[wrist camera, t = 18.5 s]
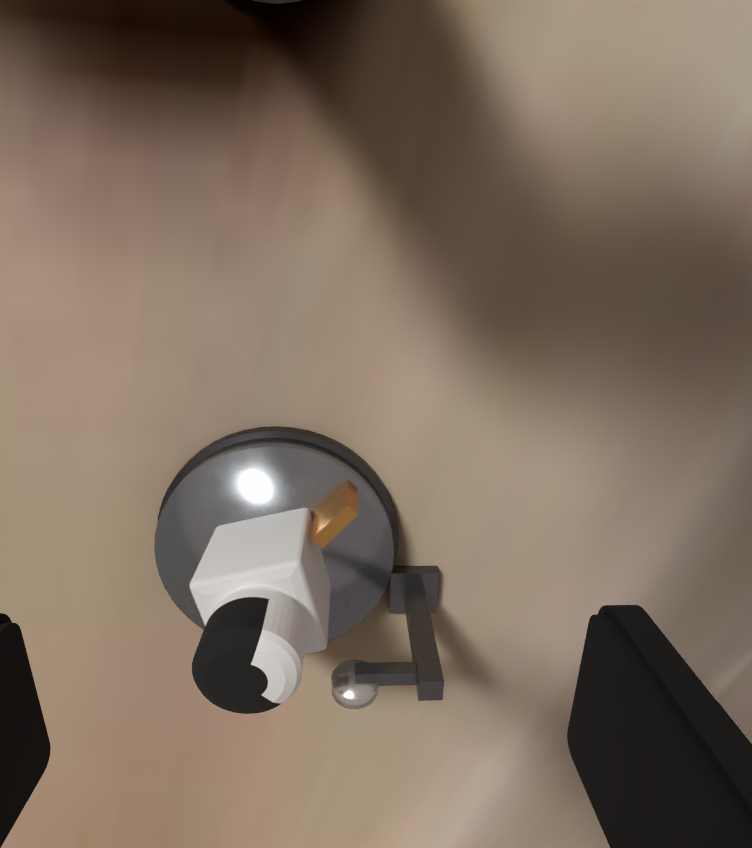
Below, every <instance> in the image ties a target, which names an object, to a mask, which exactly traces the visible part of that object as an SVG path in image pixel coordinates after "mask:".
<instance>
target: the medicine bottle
mask: <svg viewBox="0 0 752 848" xmlns="http://www.w3.org/2000/svg"><path fill="white" fill-rule="evenodd" d="M312 529H313V520H312V517H311V513H310V511H309V509H308V508H299V509H295V510H290V511H285V512H281V513H276V514H271V515H267V516H262V517H257V518H252V519H248V520H243V521H238V522H234V523H229V524H224V525H220V526H217V527H216V529H215V531H214V533H213V535H212V537H211V539H210V541H209V544H208V546H207V548H206V550H205V552H204V554H203V556H202V559H201V561H200V563H199V565H198V567H197V569H196V571H195V573H194V576H193V578H192V580H191V582H190V590H191V593H192V595H193V598H194V600H195V602H196V605H197V607H198V610H199V612H200V615H201V617H202V620H203V622H204V625H205V629H204V631H203V634H202V637H201V639H200V642H199V645H198V647H197V650H196V653H195V655H194V658H193V662H192V674H193V678H194V681H195V683H196V685H197V687H198V688H199V690H200V691H201V692H202V694H203V695H204V696H205V697H206V698H207V699H208V700H209V701H210V702H212V703H213V704H215V705H216V706H218V707H220V708H222V709H225V710H228V711H231V712H236V713H243V714H252V713H260V712H264V711H267V710H270V709H273V708H275V707H277V706H278V705H280V704H282V703H283V702H285V701H286V700H287V699H288V698H290V697H291V696H292V695H293V693H294V692H295V691H296V689H297V688H298V686H299V683H300V680H301V677H302V668H303V659H304V654H309V653H314V652H319V651H323V650H325V649H326V647H327V640H328V622H329V605H330V588H331V582H330V579H329V575H328V572H327V568H326V565H325V561H324V558H323V555H322V551H321V548H320V547H319V546H318V545H317V544H316V543H314V542H313V541H312V540H311V537H312Z"/></svg>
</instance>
